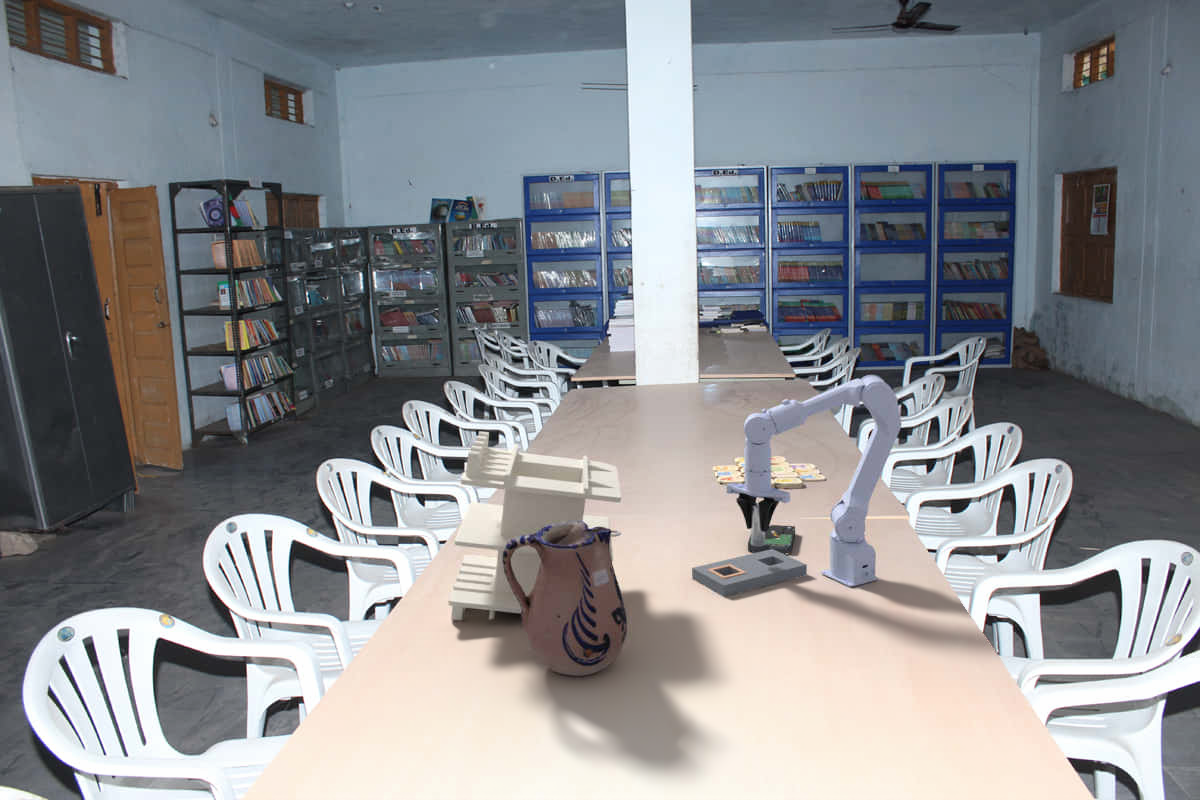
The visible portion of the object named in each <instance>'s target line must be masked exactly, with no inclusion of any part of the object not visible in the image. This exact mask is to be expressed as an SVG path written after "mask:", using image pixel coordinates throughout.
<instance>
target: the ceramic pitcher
mask: <svg viewBox="0 0 1200 800" xmlns="http://www.w3.org/2000/svg"><path fill="white" fill-rule="evenodd" d="M612 533H613V532H612V531H611V528H610V529H609V528H605V527H594V528H592V529H588V525H587V524H586V523H585V522H583V521H566V522H562V523H556V524H550V525H548V526H545V527H543V528H541V529H540V530H539V531H538V532H537V533H535V534H531V535H528V534H526V535H521V536H517V537H515V538H514V539H512V540H510V541H509V542H508V543H507V545H506V547H505V549H504V551H503V555H502V557H503V568H504V572H505V575H506V578H507V580H508V582H509V584H510V586H511V589H512V591H513V592H514V595H515V596H516V598H517V600H518V602H519V604H520V606H521V613H520V615H521V616H520V621H521V625H522V626H523V628H524V629H525V631H526V632H527V636H528V637H527V638H528V640H529V643H530V646H531V648H532V650H533V652H534V654H535V656H536V657H537V658H538V660H539V661H540V662H541V663H542V664H543V665H544V666H545V667H547V668H548V669H550V670H552V672H553V671H554V672H555V673H556V672H557V673H558V674H562V675H565V676H566V675H567V676H573V677H575V676H576V677H582V676H589V675H592V674H596V673H597V672H600V671H602V670H603V669H605V668H606V667H607V666H609V665H610V664H611V663H612V662H613V661H615V660H616V658H617V656H618V655H619V653H620V652H621V650H622V649H623V646H624V644H625V641H626V638H627V631H628V625H627V624H628V622H627V620H628V619H627V612H626V607H625V603H624V599H623V596H622V595H623V594H622V592H621V588H620V585H619V582H618V580H617V576H616V572H615V568H614V565H613V561H611V554H610V546H609V543H610V535H611V534H612ZM527 545H529V546H531V547H533V548H535V549H536V551H537V552H538V554H539V557H540V558H541V563H540V567H539V571H538V573H537V577H536V581H535V584H534V587H533V589H532V591H531V593H530V594H529V596H526V595H525V593H524V591H523V589H522V587H521V585H520V584H519V583H518V581H517V579H516V577H515V574H514V572H513V570H512V566H511V557H512V554H513V553H514V551H515V550H516V549H518V548H520V547H522V546H527Z"/></svg>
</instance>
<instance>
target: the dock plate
mask: <svg viewBox="0 0 1200 800" xmlns="http://www.w3.org/2000/svg"><path fill="white" fill-rule="evenodd" d="M807 570H808V569H807V564H806V563H804V562H801V561H800V560H797V559H795V558H793V557H791V556H789V555H788V554H782V553H780V552H778V551H776V550H773V549H770V550H766V551H762V552H752V553H750V554H746V555H741V556H737V557H733V558H729V559H728V558H727V559H724V560H720V561H716V562H711V563H708V564H707V563H706V564H703V565H699V566H695V567H691V576H692V577H691V579H692V580H694V581H695V580H696V582H697V581H698V582H697V583H699V584H701V585H702V584H703V585H702V586H704V585H705V586H704V587H706V588H708V589H709V588H710V590H712V592H715V593H716V592H717V594H718V595H720V596H722V597H723V598H725V597H729V596H733V595H735V594H736V595H737V594H740V592H741V593H743V592H744V593H745V592H748V591H751V589H752V590H756V589H760V588H762V587H768V586H771V584H772V585H775V584H779V583H782V582H781V581H783V582H786V581H785V580H787V581H790V580H789V579H791V580H794V579H793V578H795V579H797V578H796V577H799V578H801V577H800V576H803V577H805V576H804V575H806V576H807V575H808V573H807ZM778 582H779V583H778ZM759 587H760V588H759ZM755 588H756V589H755ZM747 590H748V591H747ZM732 594H733V595H732Z"/></svg>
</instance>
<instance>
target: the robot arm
mask: <svg viewBox="0 0 1200 800" xmlns="http://www.w3.org/2000/svg"><path fill="white" fill-rule="evenodd" d="M860 402H861V403H862V404H863V406H864V407H865V408H866V409H867V410H868V411H869V413H870V415H871V416H872V419H873V421H874V427H873V429H872V431H871V434H870V435H869V439H868V440H867V443H866V445H865V448H864V450H863V453H862V455H861V457H860V459H859V462H858V464H857V467H856V469H855V472H854V474H853V476H852V479H851V481H850V482H849V486H848V489H847V490H845V492H844V493H842V496H841V498H840V500H839V501H838V502H837V503H836V504H835V505H833V507H832V508H831V510H830V514H829V515H830V520H831V522H832V523H833V525H834V527H833V530H832V531H831V532H830V535H829V540H830V541H829V543H830V544H829V569H826V570H825V569H824V570H821V573H820V574H822V575H823V576H826V577H828V578H830V579H832V580H835V581H836V582H839V583H841V584H843V585H846V586H848V587H849V588H850V587H852V588H853V587H856V586H860V585H864V584H868V583H870V582H873V581H874V582H875V581H878V580H879V577H878V576H876V563H877V561H876V557H877V556H876V550H875V548H874V547H873V546H872V545H871V544H870V543H869V542H868V541H867V540H866V538H865V533H866V517H867V515H868V513H869V503H870V500H871V497H872V495H873V493H874V490H875V489H876V487H877V485H878V481H879V479H880V478H881V474H882V472H883V470H884V467H885V465H886V463H887V461H888V458H889V456H890V453H891V451H892V449H893V447H894V444H895V442H896V439H897V437H898V435H899V433H900V430H901V429H902V419H901V414H900V409H899V408H900V407H899V404H898V403H899V402H898V396H897V395H896V394H895V392H894V391H893V389H892V388H891V386H890V385H889V384H888V383H886V382H885V380H884V379H883V378H881V376H879V375H876V374H867V375H865V376H863V377H862V378H855V379H852V380H849V381H847V382H845V383H842V384H840V385H838V386H836V387H833V388H831V389H829V390H826V391H824V392H822V393H820V394H817V395H815V396H813V397H811V398H809V399H807V400H804V401H799V400H796V399H791V400H789V399H788V398H785V399H783V400H782V401H781V404H779V405H776V406H774V407H771V408H768V409H766V408H763V409H761V412H760V413H759V412H754V413H751V414H749V415H748V416H747V417H746V418H745V420H744V424H743V430H744V435H745V440H744V446H745V447H744V451H743V452H744V455H743V456H744V466H745V483H743V484H735V483H730V484H728V485H726V494H735V495H738V497H737V498H736V503H737V505H738V506H739V508H740V511H741V513H742V515H743V517H744V518H743V519H744V520H745V521H744V522H745V526H746V529H748V530H751V504H752V503H757V498H759V499H763V500H760V501H758V503H759V507H760V512H761V530H762V532H766V531H767V530H769V526H771V521H772V518H773V515H774V512H775V510H776V508H777V507H778V505H779V503H780V502H781V503H783V504H788V503H790V502H791V492H790V491H784V490H783V489H779V488H772V487H771V456H772V447H771V438H773V435H774V436H775V435H776V436H777V435H780V434H784V433H785V432H787V431H790V430H792V429H796V428H798V427H800V426H803V425H805V423H806V421H807V419H808V417H810V416H814V415H815V414H819V413H821V412H825V411H827V410H830V409H832V408H833V409H834V408H836V407H838V406H841V405H848V406H852V407H858V408H860V407H861V405H860Z"/></svg>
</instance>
